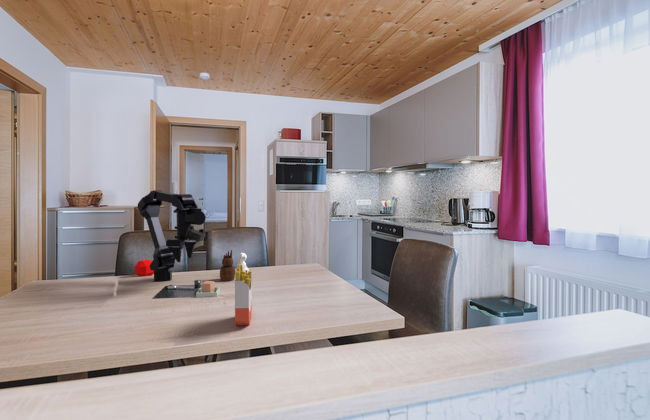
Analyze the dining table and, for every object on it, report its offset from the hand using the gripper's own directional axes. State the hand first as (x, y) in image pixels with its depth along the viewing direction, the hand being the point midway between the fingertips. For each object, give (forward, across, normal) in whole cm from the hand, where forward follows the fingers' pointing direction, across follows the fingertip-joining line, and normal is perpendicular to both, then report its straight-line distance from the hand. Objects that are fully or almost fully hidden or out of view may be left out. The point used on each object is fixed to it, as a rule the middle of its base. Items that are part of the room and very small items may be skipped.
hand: (184, 260), depth 146 cm
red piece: (+12, +16, +29) cm, 35 cm away
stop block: (+11, -10, -15) cm, 21 cm away
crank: (+11, -5, -2) cm, 12 cm away
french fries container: (+12, -33, -38) cm, 52 cm away
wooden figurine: (+12, +11, -15) cm, 22 cm away
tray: (+12, -10, -15) cm, 22 cm away
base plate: (+12, -8, -2) cm, 15 cm away
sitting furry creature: (+12, +21, -17) cm, 30 cm away
